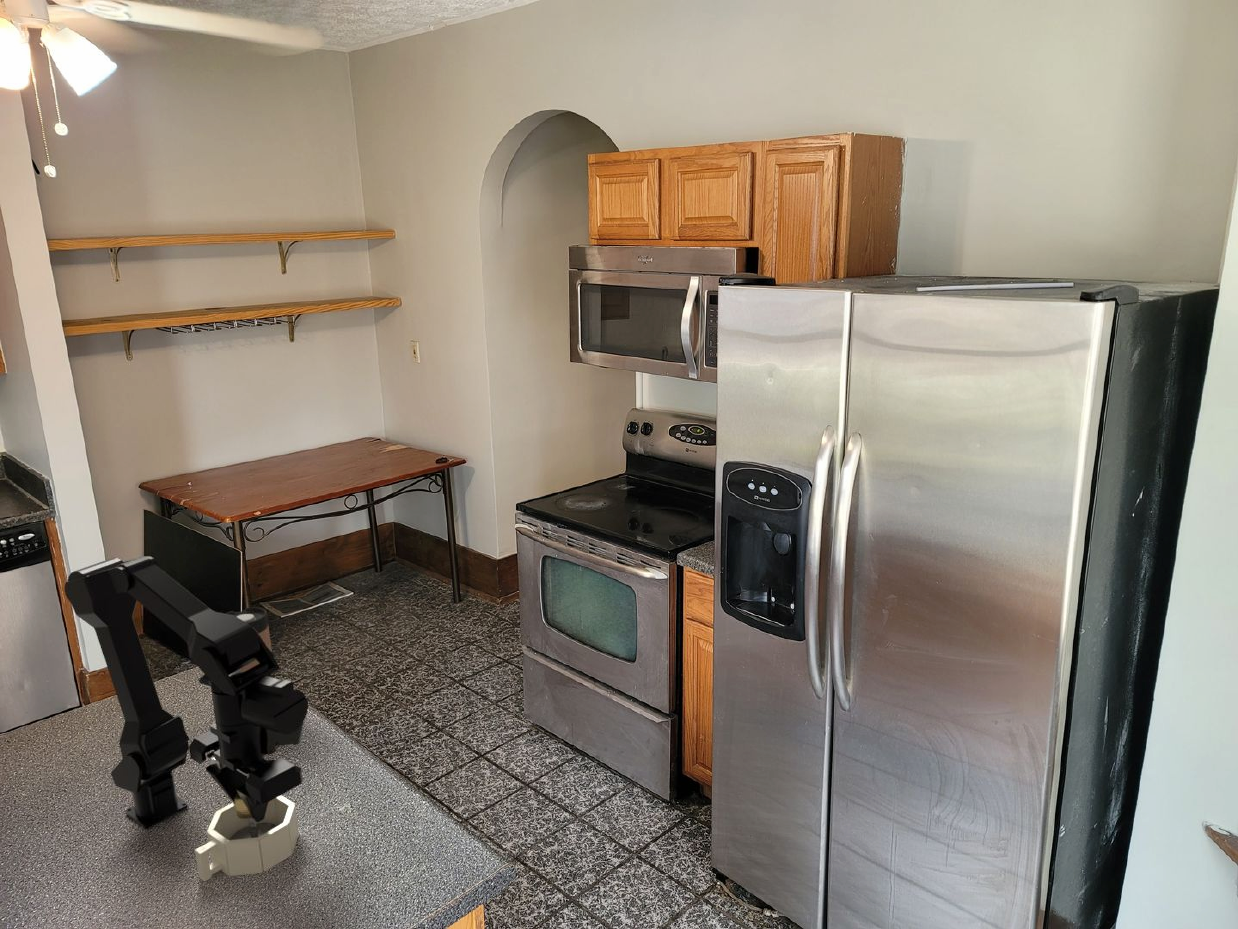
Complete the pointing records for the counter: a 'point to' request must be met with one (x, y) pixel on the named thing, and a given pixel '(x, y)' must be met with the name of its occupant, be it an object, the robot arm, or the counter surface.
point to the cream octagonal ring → (248, 841)
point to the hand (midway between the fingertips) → (251, 815)
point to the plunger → (254, 827)
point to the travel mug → (259, 623)
